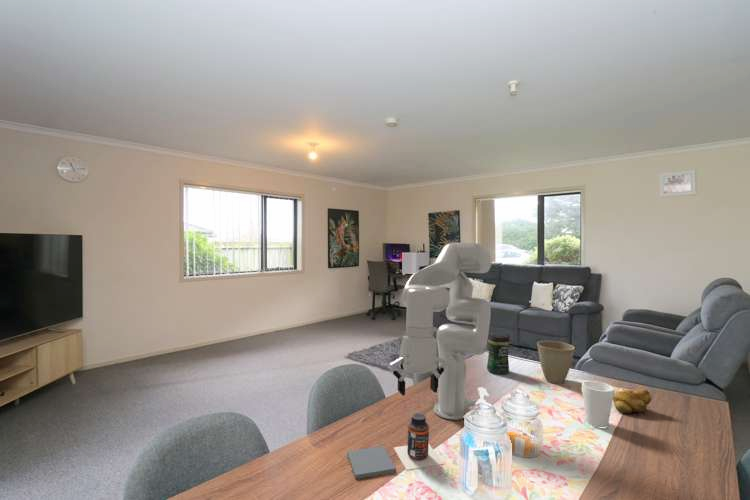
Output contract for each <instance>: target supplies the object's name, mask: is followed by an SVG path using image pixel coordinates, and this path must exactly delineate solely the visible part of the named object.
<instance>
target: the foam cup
mask: <svg viewBox="0 0 750 500" xmlns="http://www.w3.org/2000/svg"><path fill="white" fill-rule="evenodd" d="M581 393H582V399H583V407H584V409H583V410H584V416H585V423H586V422H587V423H588V424H590V425H592V426H591V427H593V426H595V427H594V428H596V427H606V426H608V427H609V422H610V415H611V410H612V406H613V402H614V401H613V397H614V394H615V388H614V386H612V385H610V384H608V383H605V382H601V381H597V380H583V381H582V382H581ZM587 423H586V424H587ZM588 424H587V425H588ZM590 425H589V426H590Z"/></svg>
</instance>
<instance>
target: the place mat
mask: <svg viewBox="0 0 750 500" xmlns="http://www.w3.org/2000/svg"><path fill="white" fill-rule="evenodd" d="M346 456H347V460H348V461H349V465H350V468H351V469H352V474H353V477H354V479H362V478H368V477H375V476H382V475H388V474H392V473H393V474H394V473H396V472H397V468H396V466H395V464H394V461H393V460H392V459H391V456H390V455H389V453H388V451H387V449H386V447H385V446H384V445H382V446H373V447H368V448H367V447H366V448H361V449H353V450H347V451H346Z"/></svg>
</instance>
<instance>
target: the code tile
mask: <svg viewBox="0 0 750 500" xmlns="http://www.w3.org/2000/svg"><path fill="white" fill-rule="evenodd" d="M407 448H408V444H407V445H401V446H395V447H394V446H393V451H395V453H396V454H397V456H398V459H399V460H400V461H401V463H402V465H403V467H404V469H405V470H406V471H410V470H417V469H423V468H429V467H436V466H440V465H445V463H444V462H443V461H442V459H441V457H440V456H439V455H438V454H437V452H436V451H435V450H434V448H432V446H431V445H430V443H428V448H429V449H428V457H427V458H426V459H423V460H414V459H412V458H411V457H409V455H408V451H407Z"/></svg>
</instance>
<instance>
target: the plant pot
mask: <svg viewBox="0 0 750 500" xmlns="http://www.w3.org/2000/svg"><path fill="white" fill-rule="evenodd" d="M536 345H537V352H538V358H539V362H540V367H541V370H542V374H543V376H544V379H545V380H546V382H549V383H552V384H558V385H559V384H561V385H562V384H563V383H565V380H566V379H567V377H568V374H569V371H570V369H571V365H572V363H573V358H574V353H575V346H574V345H572V344H570V343H566V342H562V341H557V340H556V341H554V340H541V341H537V342H536Z"/></svg>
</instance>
